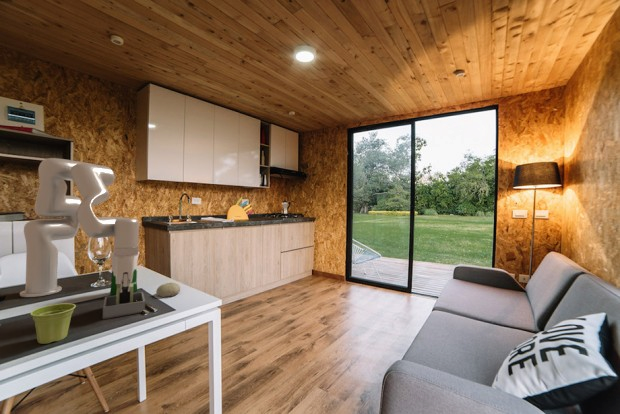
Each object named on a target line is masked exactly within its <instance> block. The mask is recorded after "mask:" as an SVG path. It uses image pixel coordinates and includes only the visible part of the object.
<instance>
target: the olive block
mask: <svg viewBox="0 0 620 414" xmlns="http://www.w3.org/2000/svg"><path fill="white" fill-rule="evenodd" d="M127 286H128V285H127ZM122 287H123V285H122ZM120 290H121V285H117V293H116V295H115V296H116V305H120V303H119V294H120ZM129 303H133V283H130V302H129ZM122 304H126V303H122Z"/></svg>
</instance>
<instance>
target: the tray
mask: <svg viewBox="0 0 620 414" xmlns="http://www.w3.org/2000/svg"><path fill="white" fill-rule="evenodd" d="M136 300H137V301H139V302H133V303H126V304H120V305H116V295H110V296H109V295H108V296H104V301H103V306H102V320H107V319H113V318H118V317H123V316H129V315H130V316H131V315H136V314H142V313H143V312H142V311H143V310H145V311H146V299H145V294H144V291H139V292H138V291H137V292H134V293H133V301H136ZM141 312H142V313H141Z"/></svg>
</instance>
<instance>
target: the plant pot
mask: <svg viewBox="0 0 620 414" xmlns="http://www.w3.org/2000/svg"><path fill="white" fill-rule="evenodd" d="M76 307H77V306H76V304H74V303H70V302H69V303H67V302H66V303H57V304H50V305H45V306H41V307H38V308H36V309H34V310H32V311H31V312H30V316H31V317H32V320H33V321H34V327H35V334H36V340H37V343H38V344H41V345H42V344H43V345H44V344H51V343H53V342H59V341H62V340H64V339H65V338H66V337H68V333H69V328H70V323H71V318H72V314H73V313H74V309H76Z"/></svg>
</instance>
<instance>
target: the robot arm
mask: <svg viewBox="0 0 620 414" xmlns="http://www.w3.org/2000/svg"><path fill="white" fill-rule="evenodd" d="M38 177H39V178H38V179H39V185H38V189H37V190H38V191H37V195H36V199H35V203H34V213H35V215H37V216H38V217H43V218H37V219H33V220H29V221H27V222H26V223H25V224H24V226H23V234H24V239H25V246H26V257H25V259H26V261H25V263H26V264H25V289H24V290H22V291H20V292H19V296H20V297H22V298H36V297H43V296H48V295H53V294H57V293H59V292H61V291H62V286H60V285H58V259H59V256H58V255H59V250H58V248H57V247H56V245H55V244H54V243H53V242H52V241H59V240H61V241H62V240H68V239H72V238H75V237H76V236H77V234H78V233H79V229H80V227H81V229H82V231H83V233H84V234H85V235H86V236H88V238H92V239H100V238H113V252H114V257H117V262H116V285H118V284H120V283H121V290H120V294H119V303H120V304H122V303H129V302H130V283H132V279H133V270H134V256H137V255H138V252H139V240H140V239H139V236H140V233H139V231H140V222H139V221H140V220H138V219H137V218H132V217H131V218H129V217H128V218H127V217H123V216H99V217H97V216H96V214H95V213H94V211H93V207H94V206H97V205H100V204H102V203H104V202H105V201H107V200H108V199H109V198H110V192H109V190H108V188H107V187H108V186H111V185H113V184H114V183H115V180H116V176H115V172H114V170H113V169H111V168H110V167H108V166H105V165H101V164H100V165H99V164H95V163H92V162H91V163H89V162H84V161H78V160H72V159H64V158H58V157H49V158H45V159H43V160H42V161H41V162H40V163H39V166H38ZM66 181H71V182H73V183H74V184H75V187H76V188H77V191H78V193H79V194H80V197H81V198H82V199H81V198H80V197H78V196H75V195H67V190H68V185H67V183H66ZM62 217H63V218H62ZM122 285H123V287H122ZM127 285H128V286H127Z"/></svg>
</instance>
